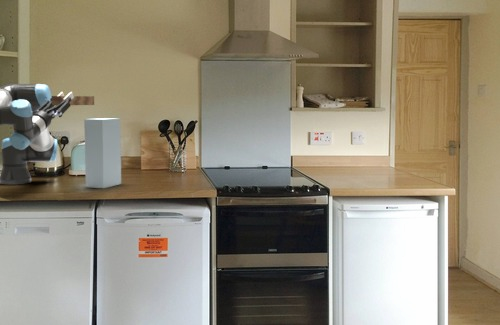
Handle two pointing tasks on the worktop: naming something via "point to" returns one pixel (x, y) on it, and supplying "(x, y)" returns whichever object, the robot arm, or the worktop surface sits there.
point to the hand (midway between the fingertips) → (67, 94)
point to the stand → (102, 152)
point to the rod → (74, 100)
